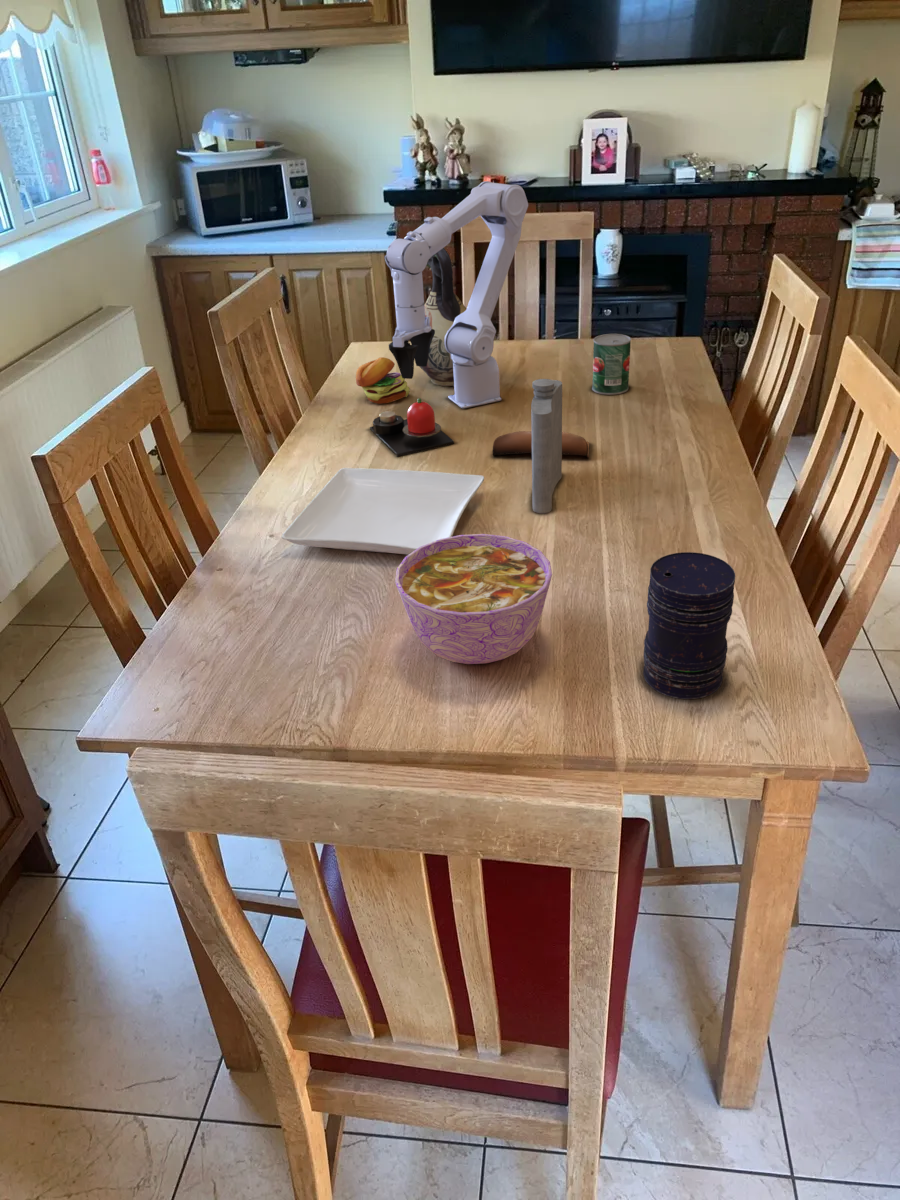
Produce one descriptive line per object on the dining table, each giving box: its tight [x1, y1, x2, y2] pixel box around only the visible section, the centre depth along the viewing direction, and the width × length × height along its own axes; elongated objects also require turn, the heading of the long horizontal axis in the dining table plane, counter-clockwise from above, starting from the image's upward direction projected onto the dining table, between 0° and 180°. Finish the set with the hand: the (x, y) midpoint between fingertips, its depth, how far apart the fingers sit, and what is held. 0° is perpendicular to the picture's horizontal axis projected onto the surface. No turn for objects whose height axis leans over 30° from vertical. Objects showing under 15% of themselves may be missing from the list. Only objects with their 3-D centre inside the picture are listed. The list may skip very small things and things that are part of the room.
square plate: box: [281, 467, 485, 555], centre depth 153 cm, size 27×27×4 cm
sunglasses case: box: [492, 430, 590, 458], centre depth 174 cm, size 18×7×7 cm
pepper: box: [406, 397, 436, 433], centre depth 181 cm, size 5×5×6 cm
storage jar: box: [642, 551, 736, 700], centre depth 111 cm, size 10×10×15 cm
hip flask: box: [530, 378, 563, 514], centre depth 155 cm, size 16×4×20 cm, turn 167°
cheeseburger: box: [355, 356, 411, 405], centre depth 203 cm, size 10×11×10 cm
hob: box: [369, 414, 455, 457], centre depth 185 cm, size 12×16×3 cm
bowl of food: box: [394, 533, 553, 665], centre depth 120 cm, size 20×20×12 cm
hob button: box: [379, 410, 397, 424], centre depth 186 cm, size 3×3×2 cm
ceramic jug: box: [418, 247, 477, 387], centre depth 204 cm, size 17×15×30 cm
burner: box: [403, 422, 442, 437], centre depth 183 cm, size 8×8×1 cm
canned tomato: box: [591, 333, 632, 396], centre depth 199 cm, size 8×8×11 cm
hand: (414, 371), depth 187 cm, fingers open, 7 cm apart
